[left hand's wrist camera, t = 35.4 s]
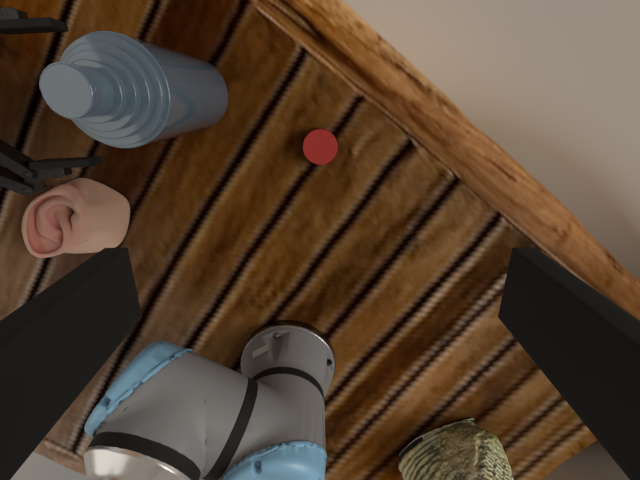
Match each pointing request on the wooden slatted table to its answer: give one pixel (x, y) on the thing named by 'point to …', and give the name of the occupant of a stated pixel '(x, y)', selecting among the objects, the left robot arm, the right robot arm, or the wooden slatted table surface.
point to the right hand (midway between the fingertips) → (78, 97)
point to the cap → (320, 146)
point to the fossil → (455, 455)
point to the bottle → (132, 90)
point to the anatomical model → (75, 219)
